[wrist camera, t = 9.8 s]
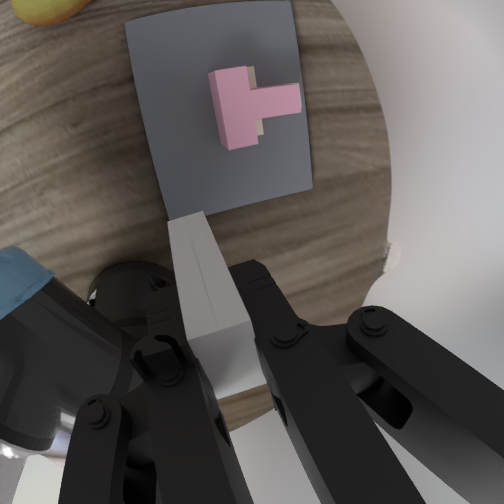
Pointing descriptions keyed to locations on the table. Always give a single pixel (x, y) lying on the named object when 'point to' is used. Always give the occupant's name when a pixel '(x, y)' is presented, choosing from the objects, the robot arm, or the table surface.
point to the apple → (47, 10)
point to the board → (202, 109)
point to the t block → (247, 105)
